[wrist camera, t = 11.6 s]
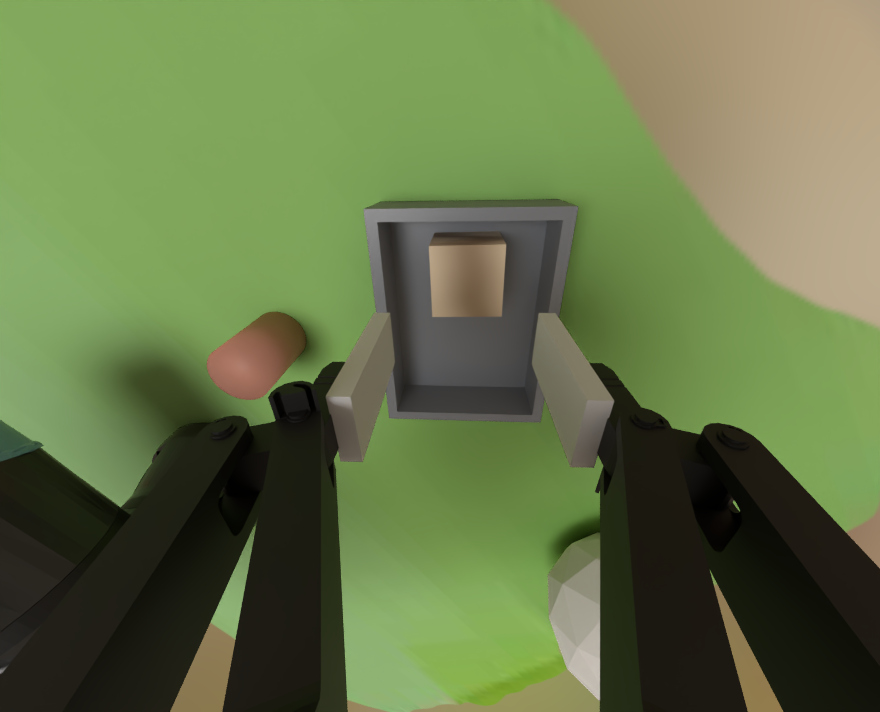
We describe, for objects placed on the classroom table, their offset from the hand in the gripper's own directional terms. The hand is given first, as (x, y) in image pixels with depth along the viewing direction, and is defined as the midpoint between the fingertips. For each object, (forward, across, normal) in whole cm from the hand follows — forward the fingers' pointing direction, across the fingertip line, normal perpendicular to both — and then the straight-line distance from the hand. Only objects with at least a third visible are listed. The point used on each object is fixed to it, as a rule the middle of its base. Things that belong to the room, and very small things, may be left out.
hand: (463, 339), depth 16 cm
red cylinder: (+14, -18, -7) cm, 24 cm away
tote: (+14, 0, -4) cm, 14 cm away
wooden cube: (+13, 0, 0) cm, 13 cm away
